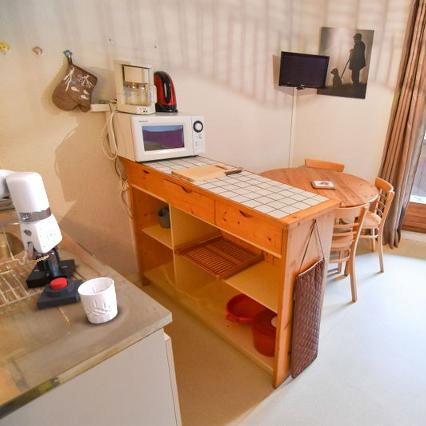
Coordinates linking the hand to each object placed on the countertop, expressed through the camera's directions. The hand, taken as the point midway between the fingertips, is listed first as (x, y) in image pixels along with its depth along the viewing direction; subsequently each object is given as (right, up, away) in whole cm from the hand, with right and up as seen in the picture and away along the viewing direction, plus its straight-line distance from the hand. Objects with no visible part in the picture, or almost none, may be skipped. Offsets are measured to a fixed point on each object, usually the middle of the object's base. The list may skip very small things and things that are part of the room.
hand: (50, 266), depth 100 cm
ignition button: (+9, -5, -8) cm, 13 cm away
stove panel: (0, -4, +2) cm, 4 cm away
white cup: (+25, -12, -12) cm, 30 cm away
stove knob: (0, -1, 0) cm, 1 cm away
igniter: (+9, -8, -6) cm, 14 cm away
